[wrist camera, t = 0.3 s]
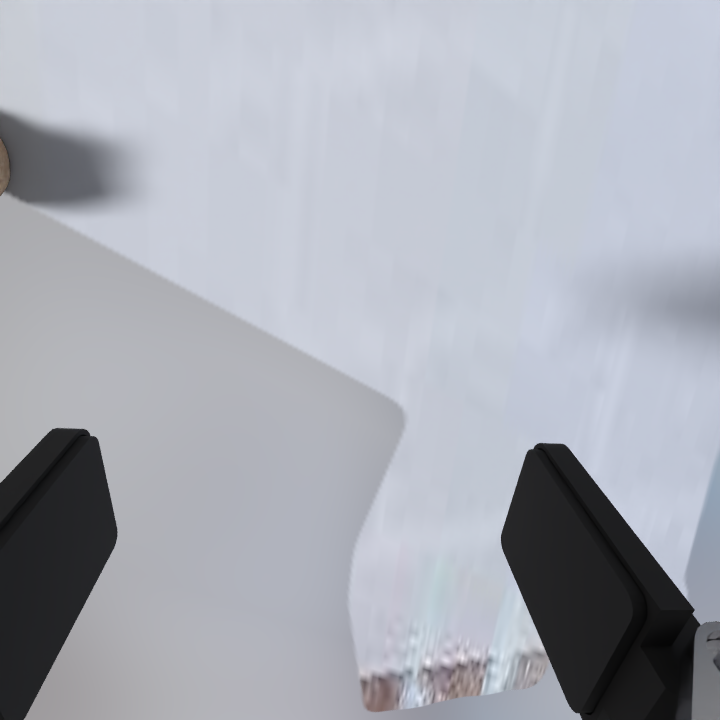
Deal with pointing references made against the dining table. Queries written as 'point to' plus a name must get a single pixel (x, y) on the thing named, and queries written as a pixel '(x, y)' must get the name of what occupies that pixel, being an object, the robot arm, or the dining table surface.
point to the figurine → (4, 168)
